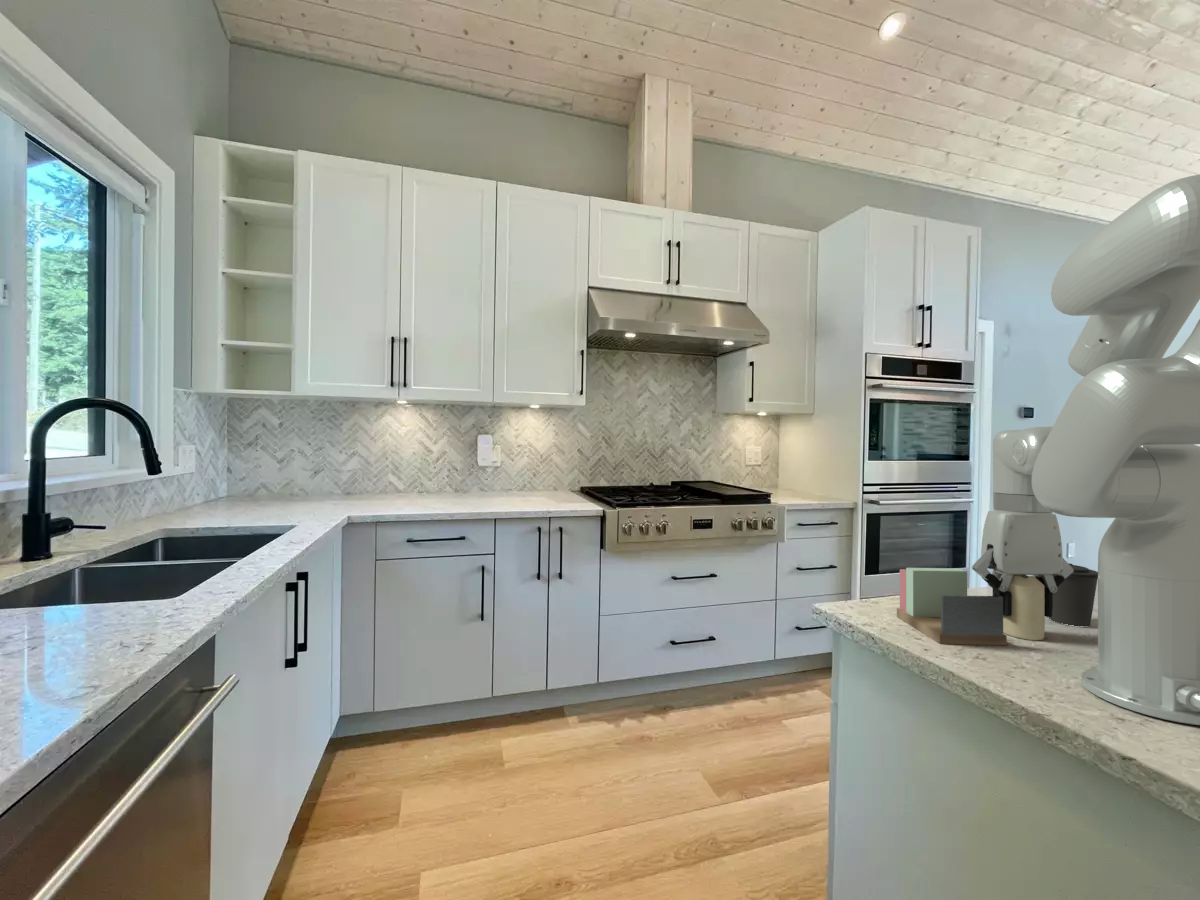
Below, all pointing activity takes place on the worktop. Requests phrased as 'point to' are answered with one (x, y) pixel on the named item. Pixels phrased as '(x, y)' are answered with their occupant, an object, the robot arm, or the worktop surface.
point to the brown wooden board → (933, 630)
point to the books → (929, 589)
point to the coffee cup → (1075, 597)
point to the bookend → (972, 615)
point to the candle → (1026, 609)
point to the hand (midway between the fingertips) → (1022, 613)
